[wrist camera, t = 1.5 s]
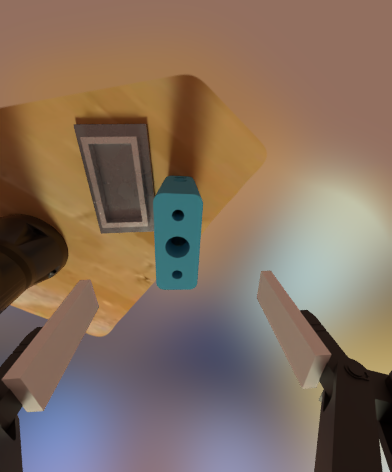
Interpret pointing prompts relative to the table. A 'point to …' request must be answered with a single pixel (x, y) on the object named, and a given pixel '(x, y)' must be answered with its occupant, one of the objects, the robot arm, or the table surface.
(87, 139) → the grey rectangular tray
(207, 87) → the table surface
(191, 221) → the block
